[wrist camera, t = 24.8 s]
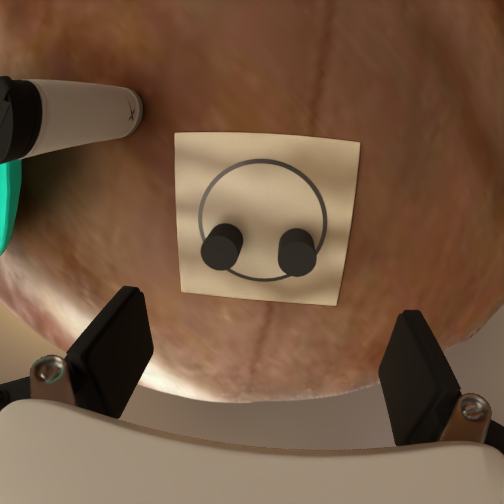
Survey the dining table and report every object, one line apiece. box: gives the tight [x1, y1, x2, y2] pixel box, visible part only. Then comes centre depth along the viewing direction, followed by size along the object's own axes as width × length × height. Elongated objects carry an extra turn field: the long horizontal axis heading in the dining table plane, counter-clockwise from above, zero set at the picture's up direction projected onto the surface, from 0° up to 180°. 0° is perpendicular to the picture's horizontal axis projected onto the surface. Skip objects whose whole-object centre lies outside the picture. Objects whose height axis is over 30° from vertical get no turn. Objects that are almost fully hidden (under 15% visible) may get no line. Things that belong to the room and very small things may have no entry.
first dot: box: [200, 223, 243, 271], centre depth 33 cm, size 4×4×4 cm
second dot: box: [278, 228, 317, 277], centre depth 33 cm, size 4×4×4 cm
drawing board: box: [175, 132, 360, 306], centre depth 34 cm, size 20×20×1 cm
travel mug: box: [0, 76, 143, 164], centre depth 21 cm, size 6×7×20 cm
